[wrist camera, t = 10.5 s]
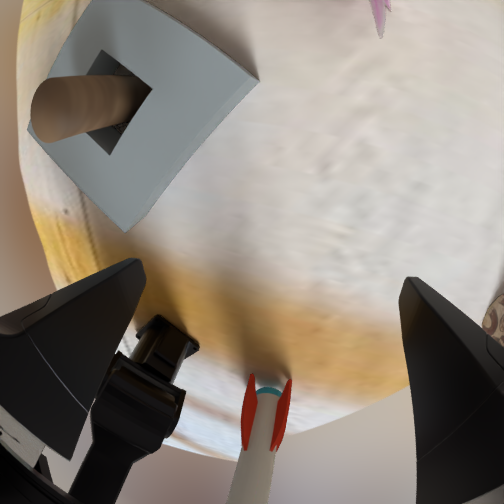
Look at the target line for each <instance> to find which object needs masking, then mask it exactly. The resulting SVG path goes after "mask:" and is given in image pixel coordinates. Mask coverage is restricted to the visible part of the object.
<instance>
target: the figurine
mask: <svg viewBox="0 0 504 504" xmlns="http://www.w3.org/2000/svg"><path fill="white" fill-rule="evenodd" d="M482 329H483V330H484V331H486V333H487V334H489V335H490V336H491V337H492V338H494V339H495V340H496V341H497V342H498V343H499V344H500V345H502V346H503V347H504V295H501V296H499V297H498V298H497V299H496V300H495V302H494V303H493V304H492V305H491V306H490V307H489V308H488V310H487V313H486V315H485V317H484V320H483V322H482Z"/></svg>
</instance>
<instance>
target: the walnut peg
mask: <svg viewBox="0 0 504 504" xmlns="http://www.w3.org/2000/svg"><path fill="white" fill-rule="evenodd" d="M150 92H151V91H150V87H149V85H147V84H146V83H145V82H144V81H142V80H141V79H140V78H139V77H137V76H131V75H80V76H63V77H52V78H48V79H46V80H45V81H43V82H42V83H41V84H40V86H39V87H38V88H37V90H36V92H35V94H34V97H33V100H32V104H31V123H32V127H33V130H34V132H35V134H36V136H37V137H38V138H39V139H40V140H41V141H42V142H44V143H53V142H56V141H59V140H62V139H65V138H68V137H72V136H75V135H78V134H82V133H85V132H89V131H92V130H96V129H100V128H104V127H108V126H112V125H116V124H121V123H125V122H130V121H131V120H132V119H133V117H134V116H135V114H136V112H137V111H138V109H139V108H140V107H141V105H142V104H143V102H144V101H145V99H146V98H147V96H148V95H149V94H150Z"/></svg>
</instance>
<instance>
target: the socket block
mask: <svg viewBox="0 0 504 504" xmlns="http://www.w3.org/2000/svg"><path fill="white" fill-rule="evenodd" d="M120 63H121V64H122V65H123V66H125V67H126V68H127V69H128V70H130V71H131V72H132V73H134V74H135V75H136V76H137V77H139V78H140V79H141V80H142V81H144V82H145V83H146V84H147V85H149V86H150V87H151V88H152V89H153V90H152V91H151V92H150V94H149V95H148V96H147V98H146V99H145V101H144V102H143V104H142V105H141V107H140V108H139V109H138V111H137V112H136V114H135V116H134V117H133V119H132V120H131V122H130V123H129V125H128V126H127V128H126V130H125V131H124V133H123V134H122V135H121V134H120V133H119V132H118V131H117V130H116V129H115V128H114V127H113V126H108V127H104V128H100V129H96V130H92V131H89V132H85V133H82V134H78V135H75V136H72V137H68V138H65V139H62V140H59V141H56V142H53V143H44V142H42V141H41V140H40V139H39V138H38V137H37V136H36V134H35V132H34V130H33V127H32V123H31V119H30V122H29V125H28V128H27V131H28V132H29V133H30V134H31V136H32V137H33V138H34V139H35V140H36V141H37V143H38V144H39V145H40V146H41V147H42V148H43V149H44V151H45V152H46V153H47V154H48V155H49V156H50V157H51V158H52V160H53V161H54V162H55V163H56V164H57V165H58V166H59V167H60V168H61V169H62V170H63V172H64V173H65V174H66V175H67V176H68V177H69V178H70V179H71V180H72V181H73V182H74V183H75V184H76V185H77V186H78V187H79V188H80V189H81V190H82V191H83V193H84V194H85V195H86V196H87V197H88V198H89V199H90V200H91V201H92V202H93V203H94V204H95V205H96V206H97V207H98V208H99V209H100V210H101V211H102V212H103V213H104V214H106V215H107V216H108V217H109V218H110V219H111V220H112V221H113V222H114V223H115V224H116V225H117V226H118V227H119V228H120V229H121V230H122V231H123V232H124V233H126V232H127V231H128V230H129V229H131V228H132V227H133V226H134V225H135V224H136V223H138V222H139V221H140V220H141V219H142V218H144V217H145V216H146V215H147V213H148V212H149V210H150V209H151V208H152V206H153V205H154V204H155V202H156V201H157V199H158V198H159V197H160V195H161V194H162V193H163V191H164V190H165V189H166V187H167V186H168V185H169V184H170V182H171V181H172V180H173V178H174V177H175V176H176V175H177V173H178V172H179V171H180V170H181V168H182V167H183V166H184V165H185V163H186V162H187V161H188V160H189V158H190V157H191V156H192V155H193V154H194V152H195V151H196V150H197V149H198V148H199V146H200V145H201V144H202V143H203V142H204V141H205V139H206V138H207V137H208V136H209V135H210V134H211V133H212V131H213V130H214V129H215V128H216V127H217V126H218V125H219V124H220V122H221V121H222V120H223V119H224V118H225V117H226V116H227V115H228V114H229V113H230V112H231V110H232V109H233V108H234V107H235V106H236V105H237V104H238V103H239V102H240V101H241V100H242V99H243V98H244V97H245V96H246V95H247V94H248V93H249V92H250V91H251V90H252V89H253V88H254V87H255V86H256V85H257V84H258V83H259V82H260V81H259V80H258V79H257V78H256V77H254V76H253V75H252V74H251V73H250V72H248V71H247V70H246V69H245V68H243V67H242V66H241V65H240V64H238V63H237V62H236V61H235V60H233V59H232V58H231V57H230V56H228V55H227V54H226V53H224V52H223V51H222V50H220V49H219V48H218V47H216V46H215V45H214V44H212V43H211V42H209V41H208V40H207V39H205V38H204V37H202V36H201V35H199V34H198V33H197V32H195V31H194V30H192V29H191V28H189V27H188V26H186V25H185V24H183V23H181V22H180V21H178V20H177V19H175V18H174V17H172V16H170V15H169V14H167V13H165V12H164V11H162V10H160V9H159V8H157V7H155V6H153V5H152V4H150V3H148V2H146V1H144V0H92V1H91V2H90V4H89V5H88V7H87V8H86V10H85V11H84V12H83V14H82V15H81V17H80V18H79V20H78V22H77V23H76V25H75V26H74V28H73V30H72V31H71V33H70V35H69V36H68V38H67V40H66V41H65V43H64V45H63V47H62V49H61V50H60V52H59V54H58V56H57V58H56V60H55V62H54V64H53V66H52V68H51V70H50V72H49V74H48V77H47V79H48V78H52V77H63V76H80V75H113V74H114V72H115V71H116V69H117V68H118V66H119V65H120Z"/></svg>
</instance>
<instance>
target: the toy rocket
mask: <svg viewBox="0 0 504 504" xmlns="http://www.w3.org/2000/svg"><path fill="white" fill-rule="evenodd" d="M291 387H292V380H291V379H289V380H288V381H287V383H286V385H285V388H284V391H283V393H281V392H280V391H279V390H277V389H275V388H271V387H264V388H260V389H258V390H257V391H256V389H255V377H254V375H253V374H250V377H249V381H248V385H247V388H246V392H245V396H244V401H243V406H242V414H241V440H242V448H241V452H240V456H239V459H238V463H237V467H236V470H235V474H234V478H233V481H232V484H231V488H230V491H229V495H228V498H227V502H226V504H268V498H269V492H270V487H271V480H272V474H273V468H274V460H275V454H276V452H277V450H278V448H279V446H280V444H281V442H282V439H283V436H284V432H285V428H286V423H287V416H288V412H289V406H290V398H291Z"/></svg>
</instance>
